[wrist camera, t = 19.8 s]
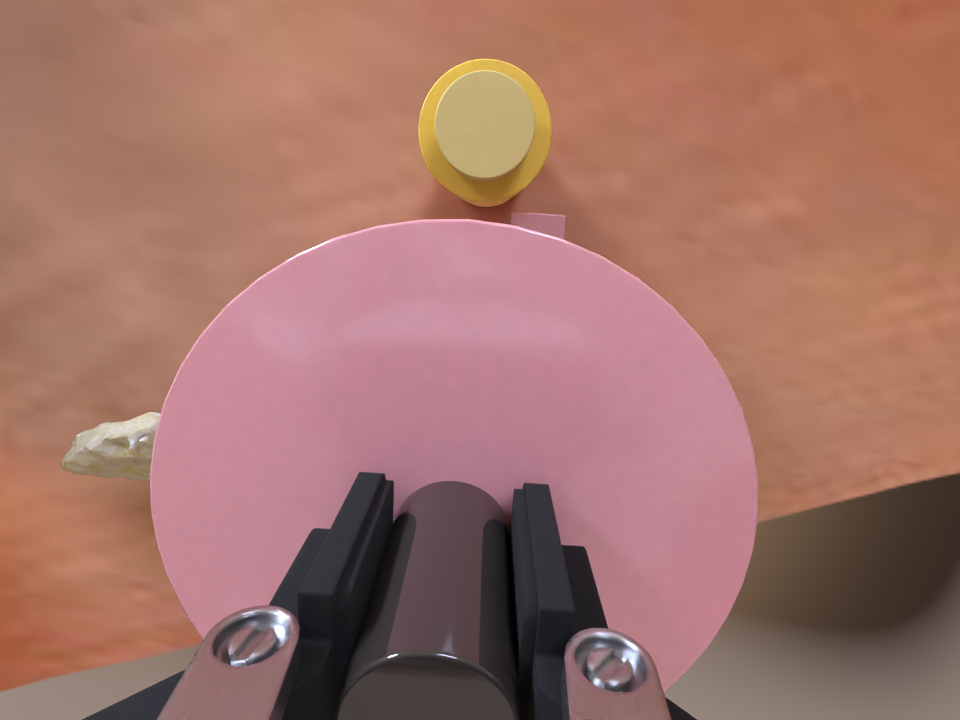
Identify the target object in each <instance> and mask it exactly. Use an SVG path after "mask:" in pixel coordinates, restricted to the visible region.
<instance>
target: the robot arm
mask: <svg viewBox="0 0 960 720" xmlns="http://www.w3.org/2000/svg"><path fill="white" fill-rule="evenodd" d="M393 507H394V481H393V480H386V477H385V473H371V472H359V474H358V475H357V477H356V479H355V481H354V483H353V485H352V487H351V489H350V491H349V493H348V495H347V497H346V499H345V501H344V503H343V505H342V507H341V509H340V510H339V512H338V514H337V516H336V518H335V520H334V522H333V524H332V526H331V528H330V529H322V528H314V529H312V531H311V532H310V533H309V535H308V537H307V539H306V540H305V542H304V544H303V546H302V547H301V549H300V551H299V553H298V554H297V556H296V558H295V560H294V561H293V563H292V565H291V567H290V568H289V570H288V572H287V574H286V575H285V577H284V579H283V581H282V582H281V584H280V586H279V588H278V589H277V591H276V593H275V595H274V596H273V598H272V600H271V602H270V603H269V605H263V606H253V607H249V608H246V609H242V610H239V611H237V612H235V613H233V614H231V615H229V616H227V617H225V618H223V619H222V620H221V621H220V622H218V623H217V624H216V625H214V626H213V627H212V629H211V630H210V631H209V632H208V634H207V635H206V636H205V638H204V640H203V641H202V643H201V645H200V646H199V648H198V650H197V651H196V653H195V655H194V657H193V659H192V660H191V662H190V663H189V665H188V667H187V668H186V669H185V670H183V671H181V672H179V673H177V674H175V675H173V676H171V677H169V678H167V679H165V680H163V681H161V682H159V683H157V684H155V685H152V686H150V687H148V688H146V689H144V690H143V691H140V692H138V693H136V694H134V695H132V696H130V697H128V698H126V699H124V700H122V701H120V702H118V703H115V704H113V705H111V706H109V707H107V708H105V709H103V710H101V711H99V712H97V713H95V714H93V715H91V716H89V717H87V718H85V719H83V720H334V712H335V707H336V703H337V699H338V696H339V693H340V690H341V686H342V683H343V680H344V677H345V674H346V671H347V668H348V664H349V661H350V658H351V655H352V652H353V649H354V645H355V642H356V639H357V636H358V633H359V630H360V627H361V623H362V620H363V617H364V614H365V611H366V608H367V605H368V601H369V598H370V595H371V592H372V589H373V586H374V582H375V579H376V576H377V573H378V570H379V567H380V564H381V560H382V557H383V554H384V551H385V548H386V545H387V541H388V538H389V535H390V532H391V529H392V526H393ZM510 550H511V567H512V585H513V602H514V619H515V636H516V654H517V671H518V686H519V703H520V720H696V719H695V718H694V717H692V716H691V715H690V714H688V713H687V712H685V711H684V710H683V709H681V708H680V707H678V706H677V705H676V704H674V703H673V702H672V701H670V700H669V699H667V698H666V697H665V695H664V692H663V688H662V685H661V681H660V678H659V674H658V671H657V667H656V665H655V663H654V661H653V659H652V657H651V655H650V654H649V653H648V652H647V651H646V649H645V648H644V647H643V646H642V645H641V644H639V643H638V642H637V641H635V640H634V639H633V638H631V637H629V636H627V635H625V634H623V633H621V632H618V631H615V630H610V629H608V625H607V622H606V618H605V615H604V611H603V607H602V604H601V600H600V597H599V593H598V590H597V586H596V583H595V579H594V576H593V572H592V569H591V565H590V562H589V558H588V555H587V551H586V549H585V547H584V546H574V545H561V540H560V535H559V531H558V526H557V521H556V517H555V512H554V507H553V502H552V498H551V493H550V488H549V485H548V484H534V483H524V484H523V489H514V493H513V504H512V515H511V526H510Z"/></svg>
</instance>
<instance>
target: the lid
mask: <svg viewBox="0 0 960 720" xmlns="http://www.w3.org/2000/svg"><path fill="white" fill-rule="evenodd" d="M359 472H371V473H385V477H386V480H393V481H394V507H393V526H392V529H391V532H390V535H389V538H388V541H387V545H386V548H385V551H384V554H383V557H382V560H381V564H380V567H379V570H378V573H377V576H376V579H375V582H374V586H373V589H372V592H371V595H370V598H369V601H368V605H367V608H366V611H365V614H364V617H363V620H362V623H361V627H360V630H359V633H358V636H357V639H356V642H355V645H354V649H353V652H352V655H351V658H350V661H349V664H348V668H347V671H346V674H345V677H344V680H343V683H342V686H341V690H340V693H339V696H338V699H337V703H336V707H335V712H334V720H520V703H519V686H518V671H517V654H516V636H515V619H514V602H513V585H512V567H511V550H510V526H511V515H512V504H513V493H514V489H523V484H524V483H534V484H548V485H549V488H550V493H551V498H552V502H553V507H554V512H555V517H556V521H557V526H558V531H559V535H560V540H561V545H574V546H584V547H585V549H586V551H587V555H588V558H589V562H590V565H591V569H592V572H593V576H594V579H595V583H596V586H597V590H598V593H599V597H600V600H601V604H602V607H603V611H604V615H605V618H606V622H607V625H608V629H610V630H615V631H618V632H621V633H623V634H625V635H627V636H629V637H631V638H633V639H634V640H635V641H637V642H638V643H639V644H641V645H642V646H643V647H644V648H645V649H646V651H647V652H648V653H649V654H650V655H651V657H652V659H653V661H654V663H655V665H656V667H657V671H658V674H659V678H660V681H661V685H662V688H663V692H665V691H666V690H667V689H668V688H669V687H671V686H672V685H673V684H674V683H675V682H676V681H677V680H678V679H679V678H680V677H681V676H682V675H684V674H685V673H686V672H687V671H688V670H689V669H690V667H691V666H692V665H693V664H694V663H695V661H696V660H697V659H698V658H699V657H700V656H701V654H702V653H703V652H704V651H705V650H706V648H707V647H708V646H709V645H710V643H711V642H712V640H713V639H714V637H715V636H716V634H717V632H718V631H719V629H720V628H721V626H722V625H723V623H724V622H725V620H726V618H727V617H728V615H729V613H730V610H731V608H732V606H733V604H734V602H735V600H736V598H737V595H738V594H739V591H740V589H741V587H742V585H743V582H744V578H745V575H746V572H747V568H748V565H749V562H750V559H751V555H752V552H753V546H754V539H755V533H756V526H757V520H758V477H757V470H756V463H755V457H754V450H753V443H752V440H751V436H750V433H749V430H748V427H747V423H746V420H745V417H744V414H743V410H742V407H741V405H740V403H739V400H738V398H737V396H736V394H735V392H734V390H733V388H732V386H731V384H730V382H729V380H728V378H727V376H726V374H725V371H724V370H723V368H722V367H721V365H720V364H719V362H718V361H717V359H716V358H715V356H714V355H713V354H712V352H711V351H710V349H709V348H708V346H707V345H706V343H705V342H704V340H703V339H702V337H701V336H700V335H699V334H698V333H697V332H696V331H695V330H694V329H693V327H692V326H691V325H690V324H689V323H688V322H687V321H686V320H685V319H684V318H683V317H682V315H681V314H680V313H679V312H678V311H677V310H676V309H675V308H674V307H673V306H672V305H671V304H670V303H669V302H667V301H666V300H665V299H664V298H662V297H661V296H660V295H659V294H657V293H656V292H655V291H654V290H653V289H651V288H650V287H649V286H648V285H646V284H645V283H644V282H643V281H642V280H640V279H639V278H637V277H636V276H634V275H633V274H631V273H629V272H628V271H626V270H624V269H623V268H621V267H619V266H618V265H616V264H614V263H613V262H611V261H609V260H608V259H606V258H604V257H603V256H601V255H599V254H596V253H594V252H592V251H589V250H587V249H585V248H582V247H580V246H578V245H575V244H573V243H571V242H568V241H566V240H564V239H561V238H559V237H556V236H552V235H549V234H545V233H541V232H538V231H534V230H530V229H527V228H523V227H520V226H516V225H510V224H503V223H496V222H488V221H481V220H473V219H422V220H414V221H407V222H400V223H393V224H385V225H378V226H374V227H371V228H367V229H364V230H360V231H357V232H353V233H350V234H346V235H343V236H339V237H336V238H333V239H331V240H328V241H326V242H324V243H322V244H319V245H317V246H315V247H313V248H310V249H308V250H306V251H304V252H301V253H299V254H297V255H294V256H293V257H291V258H290V259H288V260H286V261H285V262H283V263H282V264H280V265H278V266H277V267H275V268H274V269H272V270H270V271H269V272H267V273H266V274H264V275H262V276H261V277H259V278H258V279H257V280H255V281H254V282H253V283H252V284H251V285H249V286H248V287H247V288H246V289H245V290H244V291H242V292H241V293H240V294H239V295H238V296H237V297H235V298H234V299H233V300H232V301H231V302H229V303H228V304H227V305H226V306H225V307H224V308H223V310H222V311H221V312H220V313H219V314H218V315H217V316H216V318H215V319H214V320H213V321H212V322H211V323H210V325H209V326H208V327H207V328H206V329H205V330H204V331H203V333H202V334H201V335H200V336H199V338H198V339H197V341H196V342H195V344H194V346H193V347H192V349H191V350H190V352H189V353H188V355H187V357H186V358H185V360H184V361H183V363H182V364H181V366H180V368H179V370H178V372H177V374H176V376H175V379H174V381H173V383H172V386H171V388H170V390H169V392H168V395H167V397H166V399H165V401H164V404H163V407H162V411H161V415H160V419H159V422H158V426H157V430H156V434H155V437H154V443H153V452H152V461H151V470H150V493H151V513H152V518H153V524H154V529H155V535H156V540H157V546H158V549H159V552H160V555H161V558H162V561H163V564H164V567H165V570H166V573H167V576H168V579H169V581H170V583H171V585H172V587H173V589H174V591H175V593H176V595H177V597H178V599H179V601H180V603H181V605H182V607H183V609H184V611H185V613H186V614H187V616H188V617H189V619H190V620H191V622H192V623H193V625H194V626H195V628H196V629H197V631H198V632H199V634H200V635H201V637H202V638H203V640H204V638H205V636H206V635H207V634H208V632H209V631H210V630H211V629H212V627H213V626H214V625H216V624H217V623H218V622H220V621H221V620H222V619H223V618H225V617H227V616H229V615H231V614H233V613H235V612H237V611H239V610H242V609H246V608H249V607H253V606H263V605H269V603H270V602H271V600H272V598H273V596H274V595H275V593H276V591H277V589H278V588H279V586H280V584H281V582H282V581H283V579H284V577H285V575H286V574H287V572H288V570H289V568H290V567H291V565H292V563H293V561H294V560H295V558H296V556H297V554H298V553H299V551H300V549H301V547H302V546H303V544H304V542H305V540H306V539H307V537H308V535H309V533H310V532H311V531H312V529H314V528H322V529H330V528H331V526H332V524H333V522H334V520H335V518H336V516H337V514H338V512H339V510H340V509H341V507H342V505H343V503H344V501H345V499H346V497H347V495H348V493H349V491H350V489H351V487H352V485H353V483H354V481H355V479H356V477H357V475H358V474H359Z"/></svg>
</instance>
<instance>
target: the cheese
mask: <svg viewBox="0 0 960 720" xmlns="http://www.w3.org/2000/svg"><path fill="white" fill-rule="evenodd" d="M160 415H161V413H154V412H148V413H145V414H143V415H140V416H138V417H135V418H133V419H130V420H128V421H122V422H114V423H109V422H105V423H103V424H101V425H98V426H97V427H96V428H94V429H91V430H87V431H84V432H82V433H80V434H78V435H77V436H76V440H75V441H74V442H73V443H72V447H71V449H70V450H69V451H68V452H67V453H66V454H65V456H64V458H63V460H62V462H61V468H62V469H63V470H66V471H68V472H71V473H74V474H79V475H92V476H98V477H104V478H114V477H121V478H126V479H131V480H140V481H150V470H151V461H152V452H153V443H154V437H155V434H156V430H157V426H158V422H159V419H160Z"/></svg>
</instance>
